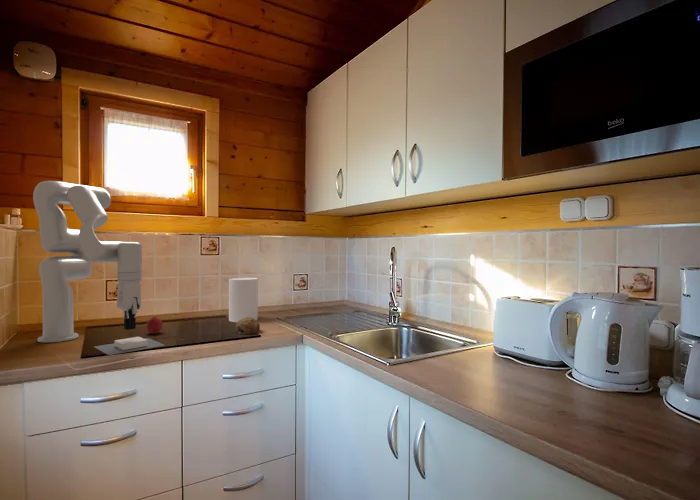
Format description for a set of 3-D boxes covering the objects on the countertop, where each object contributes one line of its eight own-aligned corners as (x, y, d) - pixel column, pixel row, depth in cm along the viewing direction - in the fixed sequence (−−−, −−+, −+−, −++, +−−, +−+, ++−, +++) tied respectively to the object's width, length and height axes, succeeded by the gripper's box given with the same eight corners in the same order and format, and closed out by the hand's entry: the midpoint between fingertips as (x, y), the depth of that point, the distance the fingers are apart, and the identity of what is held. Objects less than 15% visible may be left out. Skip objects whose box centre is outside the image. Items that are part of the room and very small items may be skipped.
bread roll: (233, 341, 165) (228, 325, 162) (244, 326, 174) (240, 311, 171) (255, 342, 163) (251, 326, 159) (265, 327, 172) (261, 312, 168)
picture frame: (114, 340, 139) (122, 344, 134) (138, 336, 145) (147, 340, 140) (114, 346, 139) (122, 350, 134) (138, 342, 145) (147, 346, 140)
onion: (156, 336, 156) (156, 316, 156) (143, 336, 158) (143, 316, 158) (165, 333, 162) (165, 314, 162) (153, 333, 163) (153, 313, 163)
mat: (93, 348, 139) (93, 346, 139) (147, 339, 152) (147, 337, 152) (108, 357, 128) (108, 355, 128) (165, 346, 141) (165, 345, 141)
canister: (234, 316, 201) (234, 277, 201) (260, 317, 200) (260, 277, 200) (224, 322, 187) (224, 279, 187) (253, 322, 187) (253, 280, 187)
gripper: (110, 276, 142) (110, 327, 142) (125, 279, 132) (126, 334, 132) (133, 275, 148) (133, 324, 148) (149, 277, 138) (149, 330, 138)
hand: (129, 328), depth 140 cm, fingers closed
